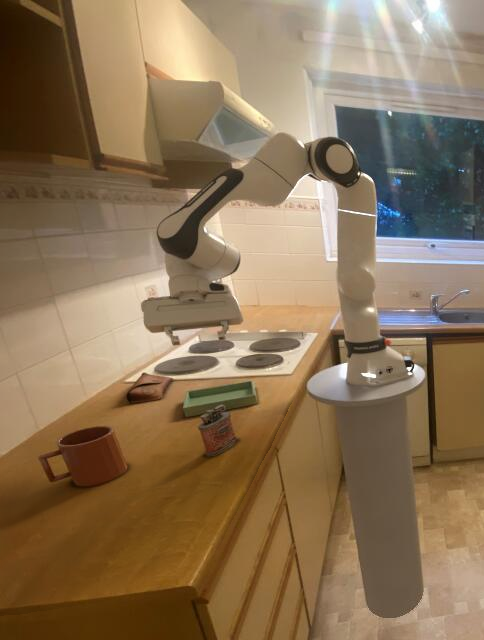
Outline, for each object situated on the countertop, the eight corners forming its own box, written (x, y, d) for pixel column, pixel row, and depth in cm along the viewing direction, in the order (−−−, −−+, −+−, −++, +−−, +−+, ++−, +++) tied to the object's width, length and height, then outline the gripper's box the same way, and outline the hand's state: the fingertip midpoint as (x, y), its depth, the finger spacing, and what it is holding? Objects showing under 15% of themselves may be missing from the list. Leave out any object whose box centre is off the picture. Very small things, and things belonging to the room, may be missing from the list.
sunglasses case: (164, 397, 128) (143, 381, 124) (142, 412, 127) (120, 396, 123) (174, 377, 143) (155, 362, 139) (154, 390, 142) (135, 376, 138)
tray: (255, 388, 136) (253, 380, 135) (257, 403, 126) (255, 395, 125) (188, 399, 128) (186, 391, 127) (185, 417, 118) (182, 408, 117)
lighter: (215, 457, 99) (203, 418, 96) (202, 455, 100) (190, 416, 96) (241, 439, 107) (231, 403, 103) (229, 438, 107) (219, 401, 103)
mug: (121, 459, 98) (107, 421, 95) (132, 472, 93) (117, 434, 90) (50, 482, 90) (31, 442, 86) (57, 499, 85) (37, 457, 81)
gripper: (135, 290, 103) (142, 340, 99) (235, 284, 113) (245, 329, 109) (144, 305, 108) (150, 353, 104) (239, 298, 118) (248, 342, 114)
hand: (199, 341), depth 107 cm, fingers open, 8 cm apart
